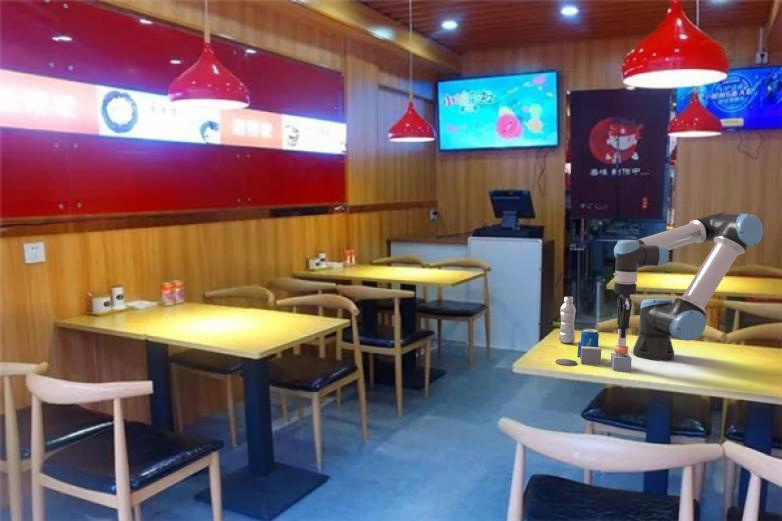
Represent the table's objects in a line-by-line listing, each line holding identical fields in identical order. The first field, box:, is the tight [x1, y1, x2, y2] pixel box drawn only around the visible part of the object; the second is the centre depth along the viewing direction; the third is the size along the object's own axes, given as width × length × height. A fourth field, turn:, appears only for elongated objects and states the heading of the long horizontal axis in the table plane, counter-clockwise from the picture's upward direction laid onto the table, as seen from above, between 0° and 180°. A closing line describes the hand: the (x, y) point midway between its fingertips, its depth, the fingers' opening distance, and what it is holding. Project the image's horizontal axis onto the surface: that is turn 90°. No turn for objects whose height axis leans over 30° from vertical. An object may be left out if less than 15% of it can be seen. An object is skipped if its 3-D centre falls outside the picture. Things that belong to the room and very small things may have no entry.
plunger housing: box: [610, 352, 632, 373], centre depth 226 cm, size 6×6×5 cm
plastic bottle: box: [558, 296, 577, 344], centre depth 263 cm, size 6×7×20 cm
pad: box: [554, 358, 578, 367], centre depth 233 cm, size 8×8×1 cm
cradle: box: [576, 339, 602, 366], centre depth 236 cm, size 7×11×6 cm, turn 171°
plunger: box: [614, 344, 629, 357], centre depth 226 cm, size 4×4×7 cm
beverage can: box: [579, 328, 600, 360], centre depth 236 cm, size 6×6×12 cm
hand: (621, 345), depth 225 cm, fingers closed
